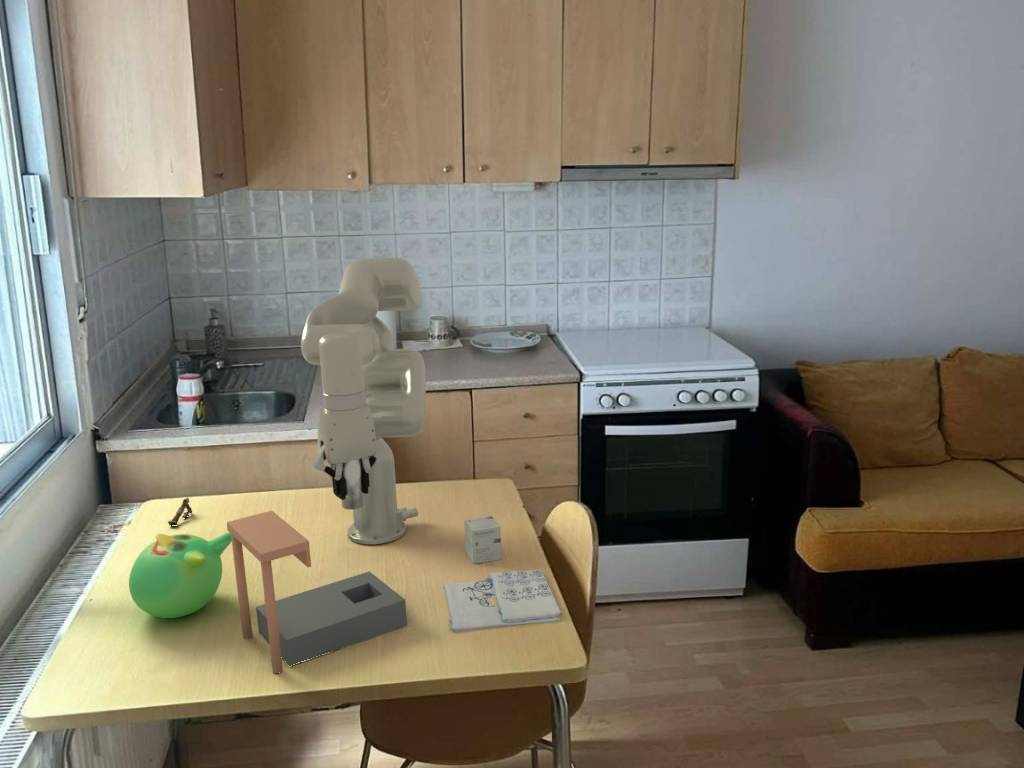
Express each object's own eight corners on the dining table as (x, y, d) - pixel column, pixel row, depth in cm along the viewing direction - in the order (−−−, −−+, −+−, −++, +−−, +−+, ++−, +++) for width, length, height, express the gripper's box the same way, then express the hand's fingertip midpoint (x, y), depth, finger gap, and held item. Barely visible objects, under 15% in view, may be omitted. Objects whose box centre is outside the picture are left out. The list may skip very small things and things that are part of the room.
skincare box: (473, 564, 190) (471, 531, 188) (465, 552, 196) (463, 519, 194) (502, 559, 192) (500, 526, 190) (493, 547, 198) (491, 515, 196)
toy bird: (158, 586, 185) (148, 517, 181) (243, 585, 185) (235, 515, 181) (118, 634, 168) (107, 558, 164) (212, 633, 167) (203, 557, 163)
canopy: (283, 621, 171) (271, 510, 165) (320, 659, 158) (308, 540, 152) (240, 635, 166) (226, 522, 161) (274, 676, 154) (260, 554, 148)
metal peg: (357, 499, 180) (354, 449, 178) (367, 506, 177) (363, 455, 175) (338, 504, 178) (334, 454, 176) (347, 511, 175) (343, 460, 172)
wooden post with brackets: (196, 509, 221) (190, 495, 218) (181, 535, 215) (174, 521, 212) (189, 508, 221) (183, 495, 218) (174, 534, 215) (167, 521, 212)
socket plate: (371, 595, 179) (369, 571, 178) (407, 625, 168) (405, 599, 167) (258, 632, 167) (255, 606, 166) (289, 667, 156) (286, 640, 155)
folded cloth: (562, 624, 168) (562, 613, 167) (448, 636, 165) (448, 625, 165) (543, 575, 186) (543, 565, 185) (440, 585, 183) (439, 575, 183)
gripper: (376, 388, 180) (382, 479, 185) (293, 404, 171) (301, 499, 176) (395, 396, 174) (401, 490, 179) (309, 413, 165) (318, 511, 170)
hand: (351, 493), depth 177 cm, fingers closed on metal peg, 4 cm apart
